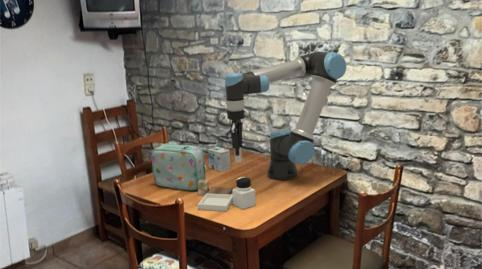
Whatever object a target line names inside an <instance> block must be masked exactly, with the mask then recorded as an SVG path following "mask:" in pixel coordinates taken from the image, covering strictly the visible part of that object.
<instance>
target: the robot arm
mask: <svg viewBox="0 0 482 269" xmlns="http://www.w3.org/2000/svg"><path fill="white" fill-rule="evenodd" d="M346 71H347V62H346V59H345V57H344V56H343V55H342V54H340V53H338V52H333V51H314V52H311V53H307V54H304V55H301V56H300V55H299V56H297V57H296V58H295V59H292V60H290V61H286V62H282V63H278V64H274V65H270V66H266V67H262V68H258V69H255V70H251V71H248V72H247V71H246V72H243V73H242V72H233V73H232V72H229V73H227V74H226V75H225V78H224V80H225V82H224V84H225V85H224V86H225V95H226V102H225V104H226V110H227V111H226V115H227V119H228V120H230V121H231V123H230V128H229V131H230V136H231V138H230V139H231V143H232V144H231V145H232V149H234V163H242V162H243V161H242V160H243V159H242V158H243V157H242V147H244V145H243V126H244V122H242V120H243V119H245V117H246V116H245V114H246V113H245V95H252V94H262V93H266V92H268V91H269V89H270V84H272V83H274V82H278V81H279V82H280V81H283V80H286V79H290V78H293V77H297V76H298V77H305V76H311V78H312V84H311V86H310V88H309V91H308V94H307V97H306V100H305V102H304V105H303V107H302V110H301V112H300V115H299V118H298V120H297V123H296V126H295V128H293V129H280V130H274V131H272V132H270V134H269V152H270V154H269V156H270V157H269V158H270V160H269V161H270V162H269V165H268V168H267V173H266V174H267V177H268V178H269V179H271V180H275V181H288V180H292V179H296V178H297V177H298V173H299V172H298V168H297V165H305V164H307V163H309V162H310V161H311V160H312V158H313V157H314V155H315V146H314V141H315V138H314V132H315V129H316V127H317V125H318V121H319V119H320V116H321V113H322V111H323V109H324V106H325V104H326V101H327V98H328V96H329V93H330V90H331V87H333V86H335V85H336V83H337V82H338V80H339V79H340V78H342V77H343V76H344V75H345V74H346ZM296 164H297V165H296Z"/></svg>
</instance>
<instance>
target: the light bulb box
mask: <svg viewBox="0 0 482 269" xmlns="http://www.w3.org/2000/svg"><path fill="white" fill-rule="evenodd" d="M207 152H208V168H209V169H211V170H215V171H217V172H220V173H222V172H223V173H224V172H226V171H230V170H231V156H230V154H231V153H230V149H228V148H227V149H226V148H223V147H220V146H215V147H211V148H209V149H208V148H207Z"/></svg>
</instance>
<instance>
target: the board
mask: <svg viewBox="0 0 482 269" xmlns="http://www.w3.org/2000/svg"><path fill="white" fill-rule="evenodd" d="M233 189H234V187H226V186H225V187H223V186H211V187H210V188H209V191H208V192H207V193H209V194H229V195H233V192H232V190H233Z"/></svg>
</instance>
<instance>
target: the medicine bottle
mask: <svg viewBox="0 0 482 269" xmlns="http://www.w3.org/2000/svg"><path fill="white" fill-rule="evenodd" d="M235 180H236V181H235V184H236V186H235V188H233V190H232V192H233V193H232V195H233V203H232V205H233V206H235V207H237V208H239V209H241V210H246V209H249V208H252V207H254V206H255V207H256V205H257V203H256V199H257V198H256V189H255V188H252V186H251V185H252V183H251V179H250V178H249V177H247V176H239V178H237V179H235Z"/></svg>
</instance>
